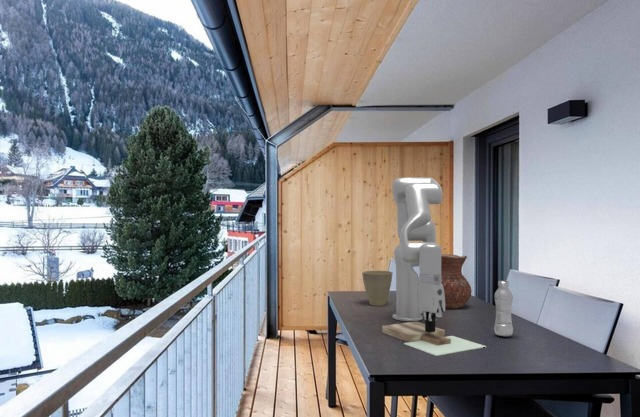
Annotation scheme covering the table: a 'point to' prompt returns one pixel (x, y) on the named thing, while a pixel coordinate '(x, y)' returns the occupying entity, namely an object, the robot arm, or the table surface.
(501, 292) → the plastic bottle
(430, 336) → the walnut tile
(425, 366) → the table surface
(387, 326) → the board
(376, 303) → the plant pot
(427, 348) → the sage mat
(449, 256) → the jug
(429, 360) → the table surface
